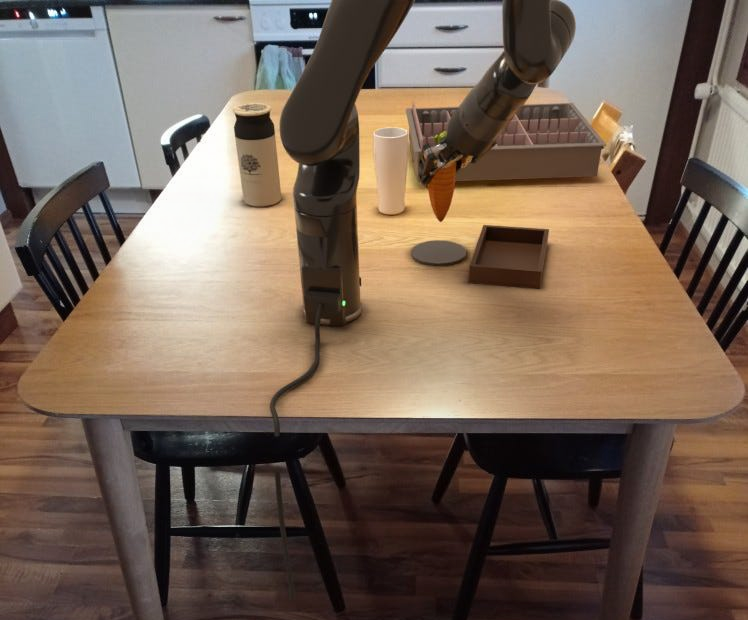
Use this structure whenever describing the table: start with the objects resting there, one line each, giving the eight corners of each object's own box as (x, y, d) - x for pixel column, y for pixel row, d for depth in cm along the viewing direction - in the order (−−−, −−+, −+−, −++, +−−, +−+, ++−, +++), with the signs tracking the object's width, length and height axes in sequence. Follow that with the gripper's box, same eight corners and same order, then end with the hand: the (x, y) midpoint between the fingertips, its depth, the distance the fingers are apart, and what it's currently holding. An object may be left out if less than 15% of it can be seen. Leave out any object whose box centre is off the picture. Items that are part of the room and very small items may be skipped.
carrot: (437, 214, 140) (439, 125, 130) (460, 220, 137) (463, 129, 128) (420, 223, 137) (421, 132, 127) (443, 229, 134) (446, 137, 125)
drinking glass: (404, 217, 155) (405, 138, 145) (371, 216, 156) (369, 136, 146) (410, 205, 159) (411, 127, 150) (378, 203, 161) (376, 126, 151)
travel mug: (261, 191, 168) (250, 100, 156) (289, 198, 164) (280, 105, 152) (235, 202, 163) (222, 110, 151) (264, 210, 159) (253, 115, 148)
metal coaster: (461, 268, 137) (461, 265, 136) (406, 263, 139) (406, 261, 138) (469, 245, 144) (469, 242, 144) (416, 241, 146) (416, 238, 146)
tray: (539, 288, 130) (541, 271, 128) (468, 282, 132) (469, 265, 130) (547, 245, 143) (549, 229, 141) (482, 240, 145) (483, 224, 143)
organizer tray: (600, 183, 166) (608, 134, 159) (414, 190, 166) (414, 141, 159) (568, 138, 190) (574, 93, 184) (405, 143, 190) (405, 99, 183)
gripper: (453, 149, 115) (409, 206, 131) (528, 131, 121) (477, 188, 136) (433, 102, 115) (391, 165, 131) (509, 86, 121) (460, 149, 136)
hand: (435, 176), depth 134 cm, fingers closed on carrot, 4 cm apart
